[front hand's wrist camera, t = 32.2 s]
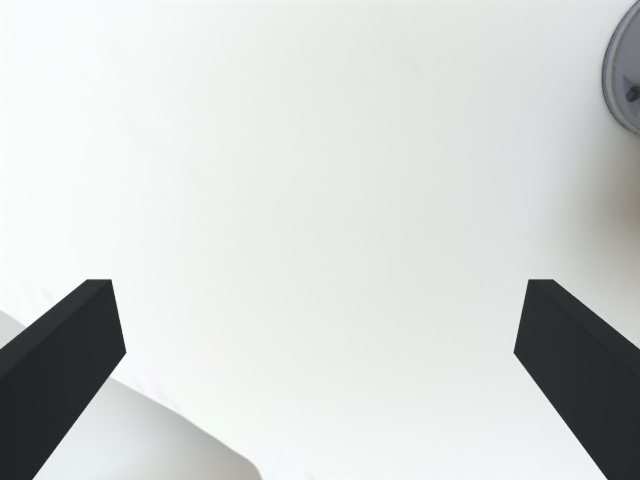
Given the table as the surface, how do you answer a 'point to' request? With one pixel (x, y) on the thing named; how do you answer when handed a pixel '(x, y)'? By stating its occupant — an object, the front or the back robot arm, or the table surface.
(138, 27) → the table surface
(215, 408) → the table surface
